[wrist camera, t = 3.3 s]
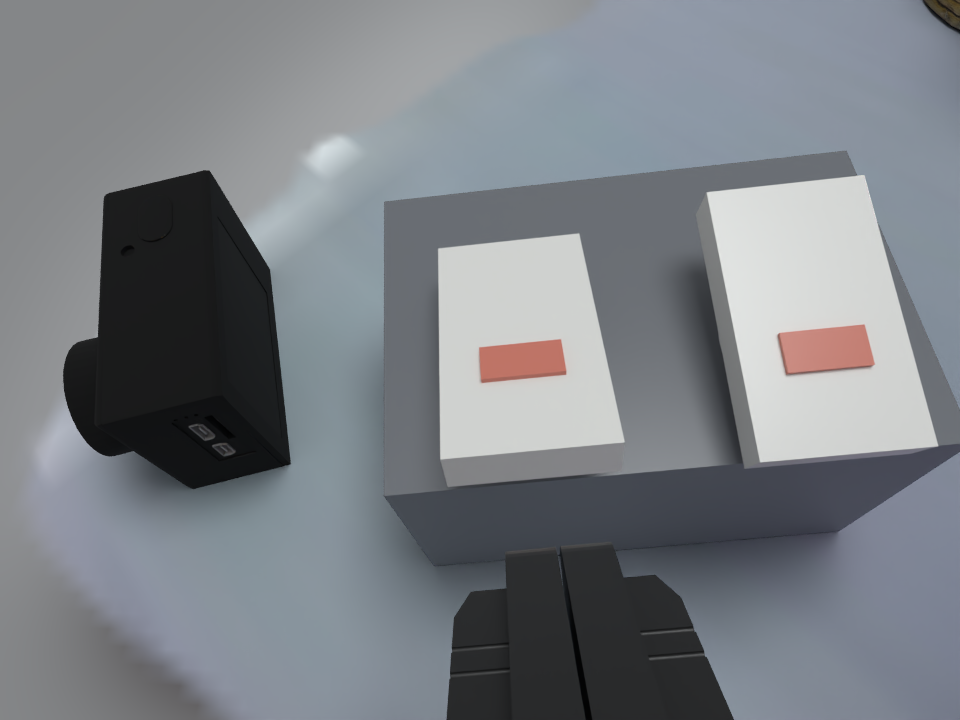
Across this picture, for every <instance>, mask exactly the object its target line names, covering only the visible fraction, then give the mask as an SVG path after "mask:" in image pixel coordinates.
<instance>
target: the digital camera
mask: <svg viewBox="0 0 960 720" xmlns="http://www.w3.org/2000/svg"><path fill="white" fill-rule="evenodd" d="M99 301H100V302H99V324H98V337H97V338H93V339H89V340H85V341H81V342H78V343H76V344H75V345H73V346H72V348H71V349H70V350H69V352H68V354H67V357H66V361H65V364H64V371H63V382H64V392H65V397H66V401H67V405H68V408H69V411H70V414H71V416H72V419H73V421H74V423H75V425H76V427H77V429H78V431H79V432H80V434H81V435H82V437H83V438H84V439H85V441H86V442H87V443H88V444H89V445H90V446H91V447H92V448H93V449H94V450H96V451H97V452H98V453H100V454H102V455H105V456H116V455H120V454H124V453H128V452H131V451H135V452H136V453H138V454H139V455H141V456H142V457H144V458H145V459H147V460H148V461H150V462H151V463H153V464H154V465H156V466H157V467H159V468H160V469H162V470H164V471H165V472H167V473H168V474H170V475H171V476H173V477H174V478H176V479H177V480H179V481H180V482H182V483H183V484H185V485H186V486H188V487H190V488H192V489H196V488H198V487H202V486H206V485H210V484H214V483H218V482H222V481H226V480H230V479H234V478H238V477H242V476H246V475H250V474H254V473H258V472H262V471H266V470H270V469H274V468H278V467H282V466H286V465H289V464H291V462H290V452H289V443H288V434H287V424H286V415H285V406H284V396H283V387H282V378H281V368H280V359H279V350H278V341H277V331H276V322H275V313H274V303H273V294H272V285H271V275H270V269H269V267H268V266H267V264H266V262H265V261H264V259H263V257H262V256H261V254H260V252H259V251H258V249H257V247H256V246H255V244H254V242H253V241H252V239H251V238H250V236H249V234H248V233H247V231H246V229H245V228H244V226H243V224H242V223H241V221H240V219H239V218H238V216H237V215H236V213H235V211H234V210H233V208H232V206H231V205H230V203H229V201H228V200H227V198H226V197H225V195H224V193H223V191H222V190H221V188H220V187H219V185H218V183H217V182H216V180H215V179H214V177H213V175H212V174H211V172H210V171H206V170H203V171H200V172H196V173H192V174H188V175H184V176H179V177H175V178H171V179H167V180H162V181H159V182H154V183H150V184H146V185H141V186H138V187H133V188H129V189H125V190H120V191H116V192H112V193H109V194H106V196H105V197H104V206H103V230H102V254H101V278H100V300H99ZM265 448H266V449H267V450H268V451H269V452H270V453H271V454H272V455H273V456H274V457H275V458H276V459H275V458H274V457H273V456H272V455H271V454H270V453H269V452H268V451H267V450H266V449H265Z"/></svg>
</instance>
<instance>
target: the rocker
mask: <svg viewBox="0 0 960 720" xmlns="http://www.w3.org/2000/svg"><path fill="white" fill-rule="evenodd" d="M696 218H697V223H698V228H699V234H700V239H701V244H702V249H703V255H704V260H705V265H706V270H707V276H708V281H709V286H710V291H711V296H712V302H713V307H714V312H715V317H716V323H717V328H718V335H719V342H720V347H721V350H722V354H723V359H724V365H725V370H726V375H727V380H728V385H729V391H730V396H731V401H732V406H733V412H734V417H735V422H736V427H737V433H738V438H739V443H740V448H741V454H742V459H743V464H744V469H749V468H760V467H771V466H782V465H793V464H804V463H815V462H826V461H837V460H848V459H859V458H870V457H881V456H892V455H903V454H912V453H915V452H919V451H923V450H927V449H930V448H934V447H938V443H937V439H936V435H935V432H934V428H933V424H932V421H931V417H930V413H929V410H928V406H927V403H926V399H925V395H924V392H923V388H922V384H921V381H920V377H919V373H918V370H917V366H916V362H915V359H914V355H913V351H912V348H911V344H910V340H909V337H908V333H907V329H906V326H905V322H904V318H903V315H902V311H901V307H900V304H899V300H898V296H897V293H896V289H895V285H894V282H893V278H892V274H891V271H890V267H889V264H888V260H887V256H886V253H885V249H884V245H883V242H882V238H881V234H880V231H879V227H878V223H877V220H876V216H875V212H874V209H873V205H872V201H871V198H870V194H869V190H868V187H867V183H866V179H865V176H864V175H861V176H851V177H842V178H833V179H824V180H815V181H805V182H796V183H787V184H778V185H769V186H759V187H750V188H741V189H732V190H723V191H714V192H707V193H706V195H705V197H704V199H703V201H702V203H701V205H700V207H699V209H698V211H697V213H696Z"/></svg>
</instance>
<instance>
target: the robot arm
mask: <svg viewBox="0 0 960 720" xmlns="http://www.w3.org/2000/svg"><path fill="white" fill-rule="evenodd" d="M560 559H561V571H562V579H561V574H560V568H559V562H558V556H557V550H556V547H549V548H538V549H527V550H517V551H506V552H505V562H506V585H507V589H496V590H485V591H474V592H470V594H469V596H468V597H467V599H466V600H465V602H464V603H463V605H462V606H461V608H460V609H459V611H458V613H457V614H456V616H455V617H454V626H453V639H452V653H451V667H450V680H449V694H448V707H447V720H734V719H733V717H732V714H731V712H730V710H729V707H728V705H727V703H726V700H725V698H724V696H723V693H722V691H721V689H720V687H719V684H718V682H717V680H716V677H715V675H714V673H713V670H712V668H711V666H710V663H709V661H708V659H707V657H705V655H704V650H703V647H702V645H701V643H700V640H699V638H698V636H697V633H696V632H694V628H693V624H692V622H691V620H690V617H689V615H688V613H687V610H686V608H685V606H684V603H683V601H682V599H681V597H680V596H679V595H678V594H676V593H675V592H674V591H673V590H672V589H671V588H670V587H668V586H667V585H666V584H665V583H664V582H663V581H661V580H660V579H659V578H658V577H657V576H656V575H649V576H638V577H627V578H623V575H622V572H621V569H620V566H619V563H618V559H617V556H616V553H615V550H614V547H613V544H612V542H601V543H590V544H579V545H568V546H560ZM562 582H563V585H562Z"/></svg>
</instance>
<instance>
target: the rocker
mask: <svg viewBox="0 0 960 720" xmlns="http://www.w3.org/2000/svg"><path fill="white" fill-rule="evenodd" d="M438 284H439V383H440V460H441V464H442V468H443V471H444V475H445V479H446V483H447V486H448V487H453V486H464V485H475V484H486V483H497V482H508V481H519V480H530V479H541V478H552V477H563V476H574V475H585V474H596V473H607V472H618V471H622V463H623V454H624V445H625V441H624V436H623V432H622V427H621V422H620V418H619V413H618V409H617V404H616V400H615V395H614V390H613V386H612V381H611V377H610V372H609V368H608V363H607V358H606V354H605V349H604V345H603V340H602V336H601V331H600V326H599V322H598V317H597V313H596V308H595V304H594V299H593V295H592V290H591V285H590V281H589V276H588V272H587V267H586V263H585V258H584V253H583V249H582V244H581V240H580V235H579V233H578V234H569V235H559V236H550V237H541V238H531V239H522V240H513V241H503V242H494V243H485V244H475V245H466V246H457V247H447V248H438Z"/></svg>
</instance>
